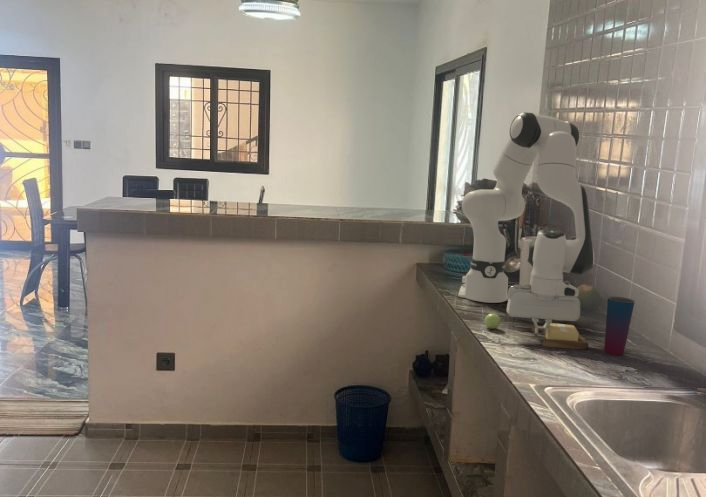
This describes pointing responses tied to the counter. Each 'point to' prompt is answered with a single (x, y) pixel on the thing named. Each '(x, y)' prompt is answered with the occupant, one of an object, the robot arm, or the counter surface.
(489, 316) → the lime
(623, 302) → the cup
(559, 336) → the carton
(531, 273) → the robot arm
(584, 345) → the display bay
